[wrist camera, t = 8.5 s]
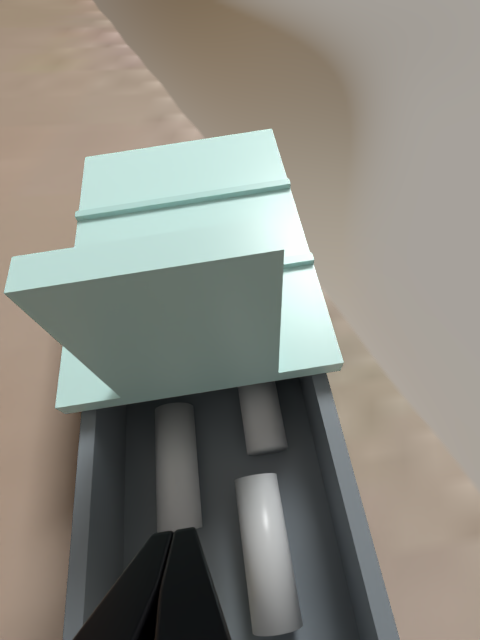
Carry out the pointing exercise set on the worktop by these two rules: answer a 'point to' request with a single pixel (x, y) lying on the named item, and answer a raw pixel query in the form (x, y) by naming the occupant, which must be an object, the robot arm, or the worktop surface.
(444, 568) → the worktop surface
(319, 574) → the parts tub
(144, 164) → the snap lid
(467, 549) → the worktop surface
